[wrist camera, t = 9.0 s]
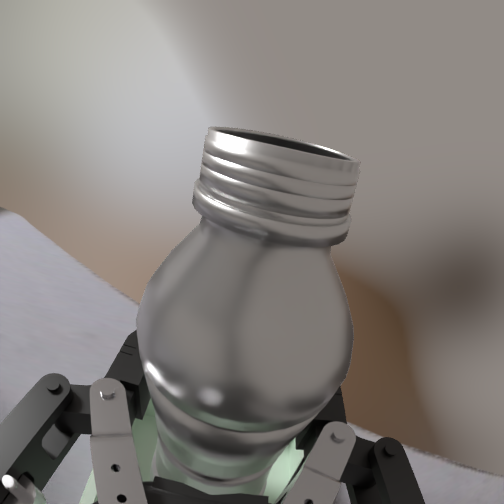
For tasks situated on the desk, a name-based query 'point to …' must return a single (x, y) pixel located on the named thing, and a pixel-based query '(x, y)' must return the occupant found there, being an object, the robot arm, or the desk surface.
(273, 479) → the green tray
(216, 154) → the plastic bottle
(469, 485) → the desk surface
